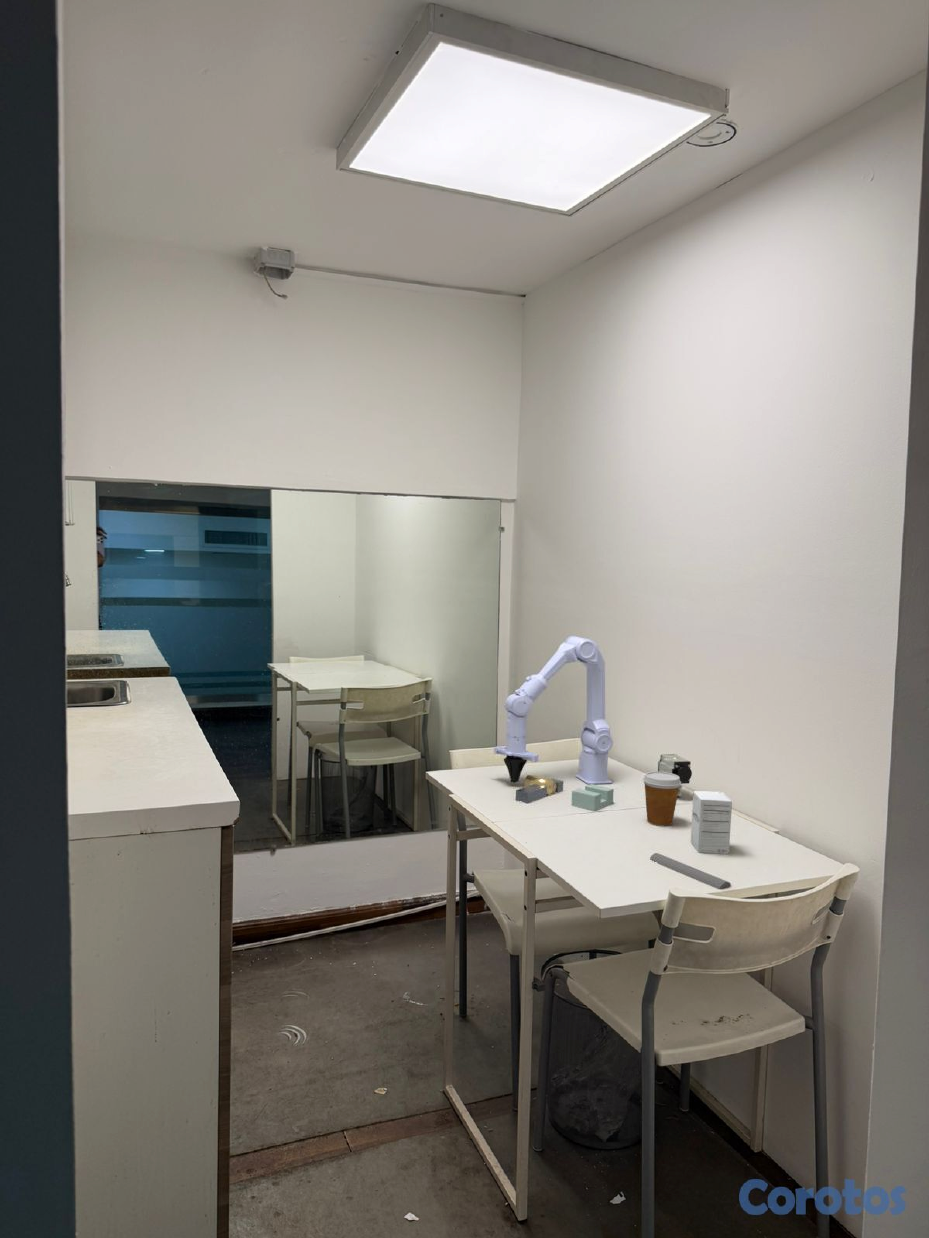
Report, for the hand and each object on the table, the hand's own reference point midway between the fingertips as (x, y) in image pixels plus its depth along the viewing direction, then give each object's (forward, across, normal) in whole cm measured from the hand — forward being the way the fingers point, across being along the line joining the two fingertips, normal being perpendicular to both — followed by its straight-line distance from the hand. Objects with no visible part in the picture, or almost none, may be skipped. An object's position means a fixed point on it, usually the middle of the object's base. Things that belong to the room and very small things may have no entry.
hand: (514, 782), depth 248 cm
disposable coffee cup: (+1, +46, -1) cm, 47 cm away
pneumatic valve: (+1, +38, +24) cm, 45 cm away
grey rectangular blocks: (+1, +11, -3) cm, 12 cm away
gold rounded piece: (-1, +9, 0) cm, 9 cm away
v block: (+1, +26, 0) cm, 26 cm away
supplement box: (+1, +64, -11) cm, 65 cm away
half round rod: (+2, +67, -29) cm, 73 cm away
